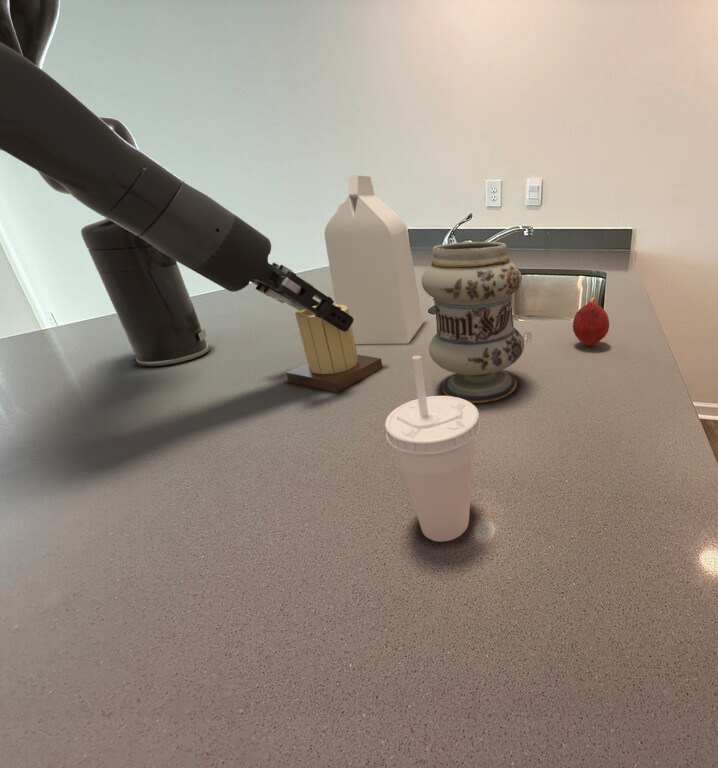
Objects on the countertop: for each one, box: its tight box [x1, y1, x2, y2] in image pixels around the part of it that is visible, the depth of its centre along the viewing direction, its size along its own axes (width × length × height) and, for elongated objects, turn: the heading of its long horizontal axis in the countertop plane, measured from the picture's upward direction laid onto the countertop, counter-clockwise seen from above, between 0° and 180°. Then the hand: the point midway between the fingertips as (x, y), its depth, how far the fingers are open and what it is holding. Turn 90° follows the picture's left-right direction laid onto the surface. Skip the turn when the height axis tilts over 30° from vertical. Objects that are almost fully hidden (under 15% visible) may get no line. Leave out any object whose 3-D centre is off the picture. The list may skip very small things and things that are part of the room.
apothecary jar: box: [421, 241, 525, 404], centre depth 50 cm, size 12×12×18 cm
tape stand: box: [285, 354, 384, 393], centre depth 56 cm, size 9×9×10 cm
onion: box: [572, 297, 610, 347], centre depth 65 cm, size 6×6×8 cm
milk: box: [324, 175, 424, 345], centre depth 70 cm, size 12×12×26 cm
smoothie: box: [384, 355, 481, 542], centre depth 29 cm, size 6×6×14 cm
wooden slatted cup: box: [294, 303, 358, 374], centre depth 56 cm, size 6×6×8 cm
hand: (335, 319), depth 56 cm, fingers open, 7 cm apart
